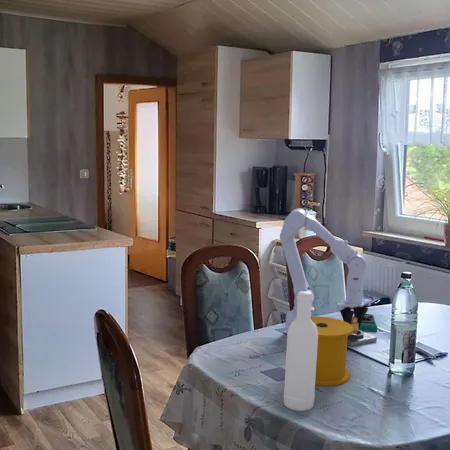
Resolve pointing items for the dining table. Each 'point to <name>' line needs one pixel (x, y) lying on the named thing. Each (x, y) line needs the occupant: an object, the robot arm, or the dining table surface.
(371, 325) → the digital multimeter
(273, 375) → the dining table surface
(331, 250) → the robot arm
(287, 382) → the bottle
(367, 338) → the junction plate
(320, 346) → the spool
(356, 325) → the orange rounded knob
